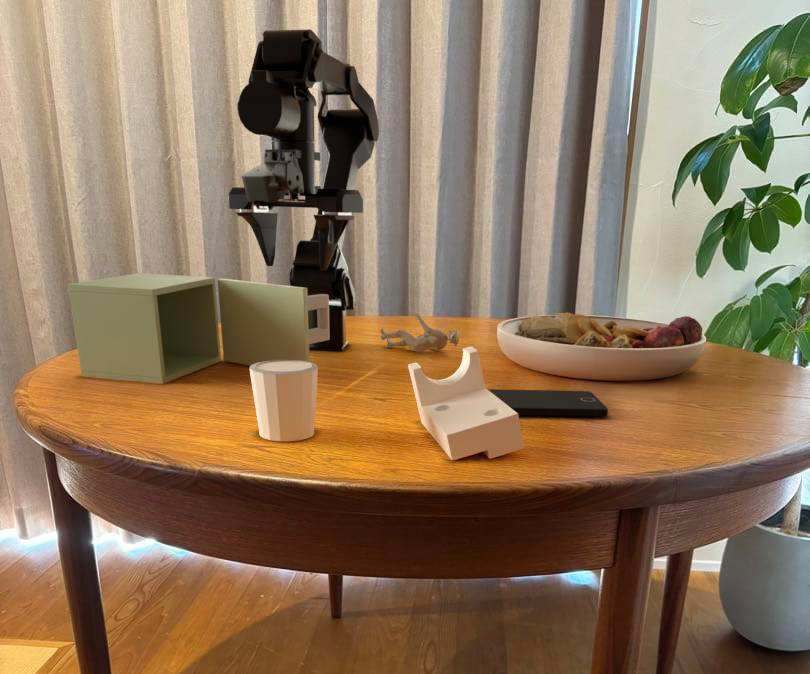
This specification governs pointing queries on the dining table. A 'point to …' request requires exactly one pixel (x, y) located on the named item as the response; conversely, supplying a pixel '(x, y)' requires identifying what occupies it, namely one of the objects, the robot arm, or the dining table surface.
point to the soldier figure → (421, 338)
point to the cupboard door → (269, 321)
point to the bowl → (602, 346)
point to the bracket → (465, 411)
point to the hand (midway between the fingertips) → (296, 267)
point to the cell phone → (552, 402)
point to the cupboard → (145, 326)
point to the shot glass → (285, 398)
